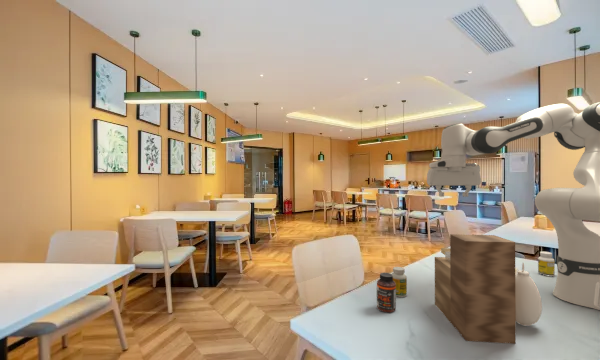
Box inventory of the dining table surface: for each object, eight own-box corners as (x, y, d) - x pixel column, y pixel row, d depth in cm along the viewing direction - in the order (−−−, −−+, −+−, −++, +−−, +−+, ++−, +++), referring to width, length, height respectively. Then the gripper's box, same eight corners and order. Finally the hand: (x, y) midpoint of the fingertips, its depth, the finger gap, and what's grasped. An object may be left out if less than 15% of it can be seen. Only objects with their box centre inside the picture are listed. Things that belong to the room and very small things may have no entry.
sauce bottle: (500, 317, 83) (499, 258, 83) (526, 317, 82) (526, 258, 82) (520, 331, 75) (519, 266, 75) (549, 332, 75) (549, 266, 75)
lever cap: (455, 252, 97) (455, 245, 97) (479, 266, 81) (479, 258, 81) (435, 252, 97) (435, 245, 97) (455, 265, 82) (455, 257, 82)
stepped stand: (472, 306, 90) (472, 227, 90) (515, 343, 69) (515, 242, 69) (434, 304, 92) (434, 227, 92) (466, 340, 71) (465, 241, 71)
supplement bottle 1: (375, 311, 87) (375, 276, 87) (377, 303, 92) (377, 270, 92) (395, 314, 85) (395, 278, 85) (395, 306, 90) (395, 272, 90)
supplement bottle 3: (535, 272, 123) (534, 250, 123) (548, 272, 122) (548, 251, 122) (544, 276, 118) (543, 254, 118) (558, 277, 117) (558, 254, 117)
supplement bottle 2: (397, 290, 103) (397, 265, 103) (409, 295, 99) (409, 269, 99) (388, 293, 100) (388, 267, 100) (400, 298, 96) (400, 271, 96)
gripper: (475, 163, 115) (475, 196, 115) (425, 164, 117) (425, 196, 117) (484, 162, 109) (484, 197, 108) (430, 163, 111) (431, 197, 111)
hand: (453, 196), depth 113 cm, fingers open, 8 cm apart
